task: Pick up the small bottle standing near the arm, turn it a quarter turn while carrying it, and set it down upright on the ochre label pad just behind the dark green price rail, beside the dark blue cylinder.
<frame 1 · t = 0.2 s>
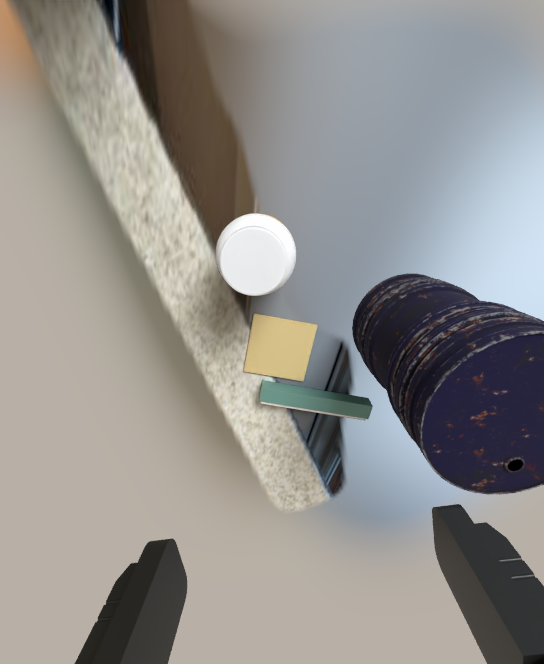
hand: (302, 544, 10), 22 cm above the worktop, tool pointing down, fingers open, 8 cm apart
supplement bottle: (260, 246, 28), on the worktop
dark blue cylinder: (403, 324, 30), on the worktop
price rail: (314, 395, 33), on the worktop
label pad: (279, 348, 31), on the worktop
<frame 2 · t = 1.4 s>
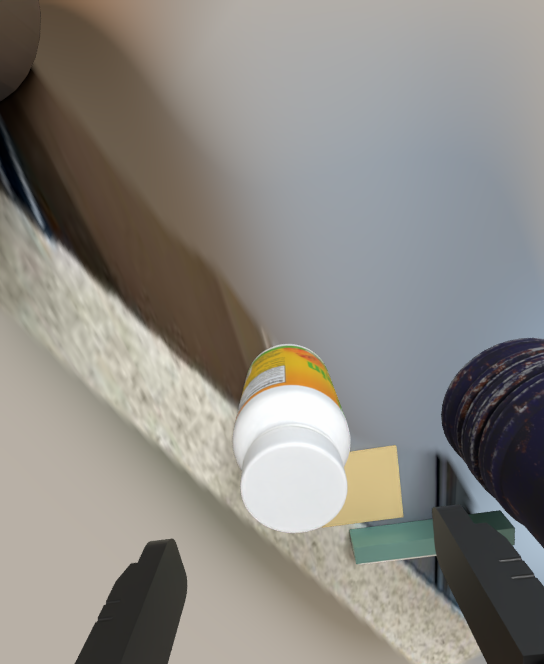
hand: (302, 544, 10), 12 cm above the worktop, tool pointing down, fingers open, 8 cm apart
supplement bottle: (287, 379, 21), on the worktop
dark blue cylinder: (513, 406, 21), on the worktop
price rail: (424, 528, 24), on the worktop
label pad: (356, 486, 23), on the worktop
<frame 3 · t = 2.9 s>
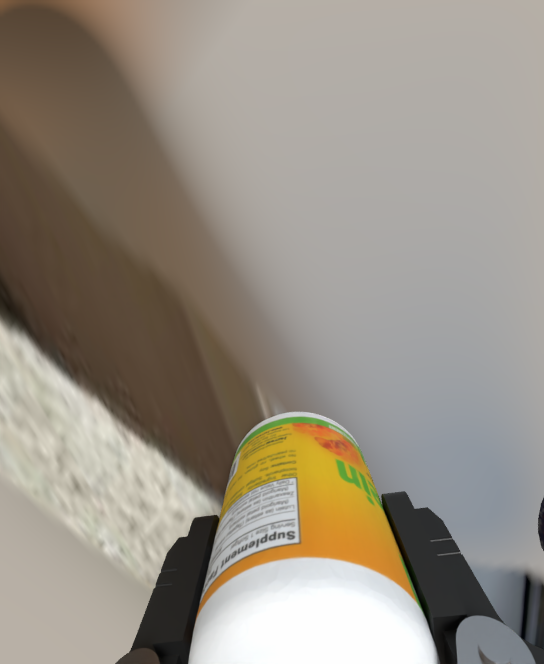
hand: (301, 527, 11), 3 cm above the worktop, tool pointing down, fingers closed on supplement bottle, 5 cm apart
supplement bottle: (297, 462, 14), on the worktop, touching gripper
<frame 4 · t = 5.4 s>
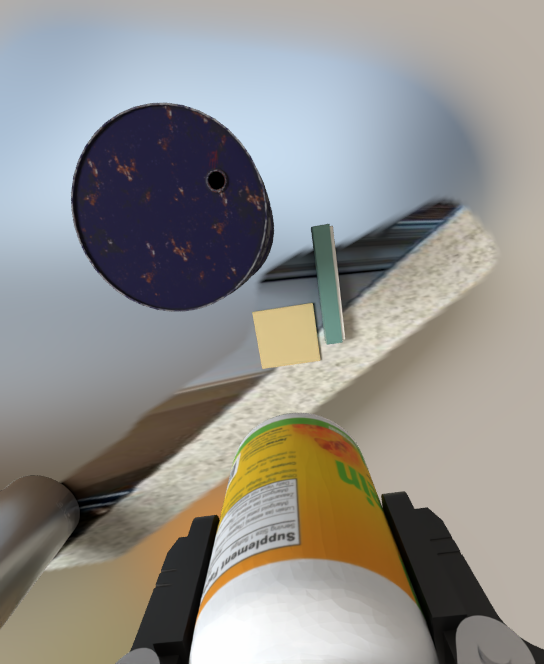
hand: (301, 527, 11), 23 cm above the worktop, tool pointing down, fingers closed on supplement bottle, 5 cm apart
supplement bottle: (297, 463, 14), point 20 cm above the worktop, touching gripper
dark blue cylinder: (222, 231, 30), on the worktop
price rail: (325, 285, 31), on the worktop
label pad: (286, 336, 33), on the worktop
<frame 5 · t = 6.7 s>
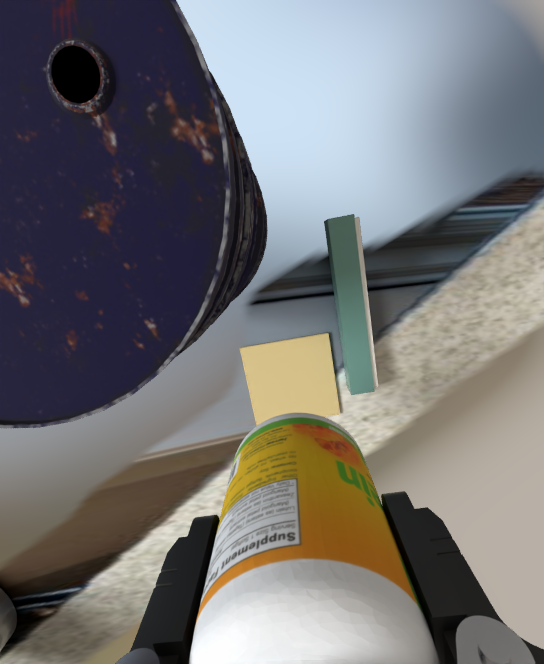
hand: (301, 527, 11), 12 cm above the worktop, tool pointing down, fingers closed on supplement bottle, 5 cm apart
supplement bottle: (297, 463, 14), point 9 cm above the worktop, touching gripper
dark blue cylinder: (191, 230, 20), on the worktop
price rail: (347, 306, 21), on the worktop
label pad: (291, 380, 22), on the worktop
when the fingers open (5 cm above the worktop, at t = 8.0 s): supplement bottle drops 1 cm, resting on label pad.
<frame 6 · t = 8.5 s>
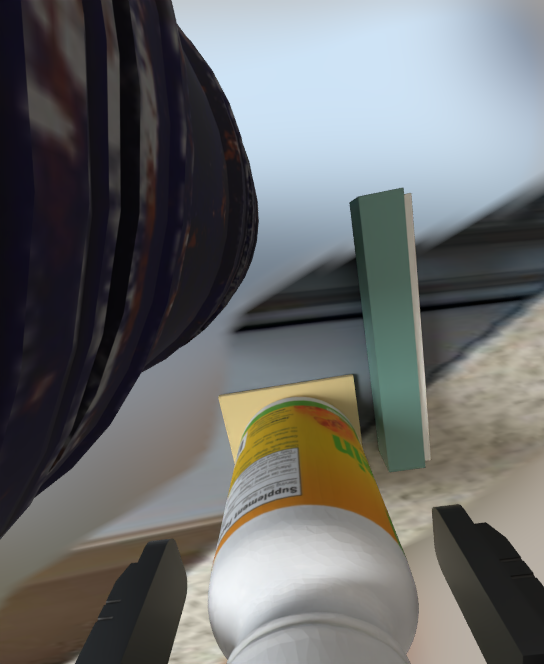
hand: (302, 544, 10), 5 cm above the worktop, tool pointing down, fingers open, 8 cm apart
supplement bottle: (298, 444, 15), resting on label pad
dark blue cylinder: (139, 218, 13), on the worktop
price rail: (383, 335, 14), on the worktop
label pad: (295, 443, 15), on the worktop
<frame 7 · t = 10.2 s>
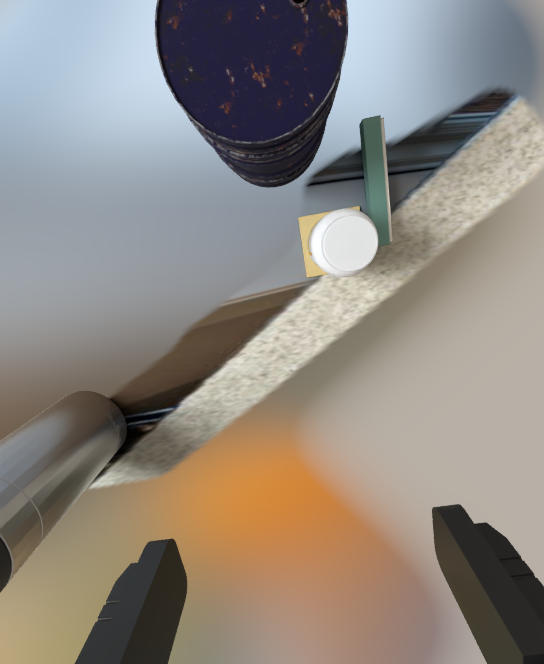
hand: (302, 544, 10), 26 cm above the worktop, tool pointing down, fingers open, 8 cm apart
supplement bottle: (333, 243, 33), resting on label pad
dark blue cylinder: (269, 132, 31), on the worktop
price rail: (373, 186, 31), on the worktop
label pad: (332, 243, 33), on the worktop
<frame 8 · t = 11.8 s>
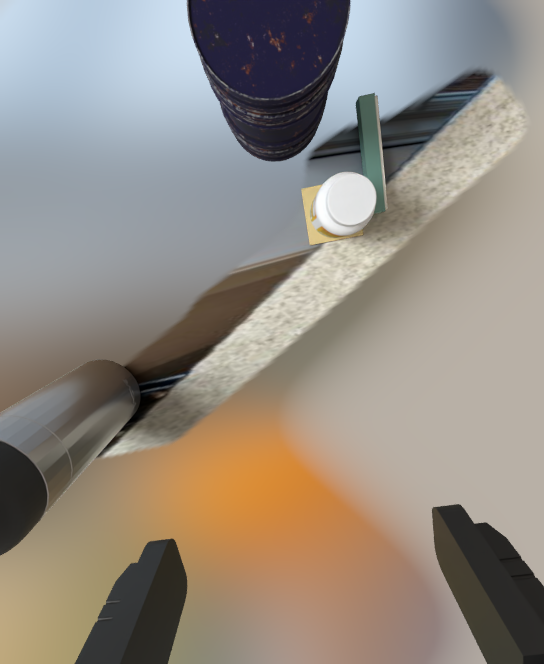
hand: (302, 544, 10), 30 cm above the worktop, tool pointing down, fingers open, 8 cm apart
supplement bottle: (333, 212, 36), resting on label pad
dark blue cylinder: (274, 111, 34), on the worktop
price rail: (368, 159, 34), on the worktop
label pad: (332, 212, 36), on the worktop
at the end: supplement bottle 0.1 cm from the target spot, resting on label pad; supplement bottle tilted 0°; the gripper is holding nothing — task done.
